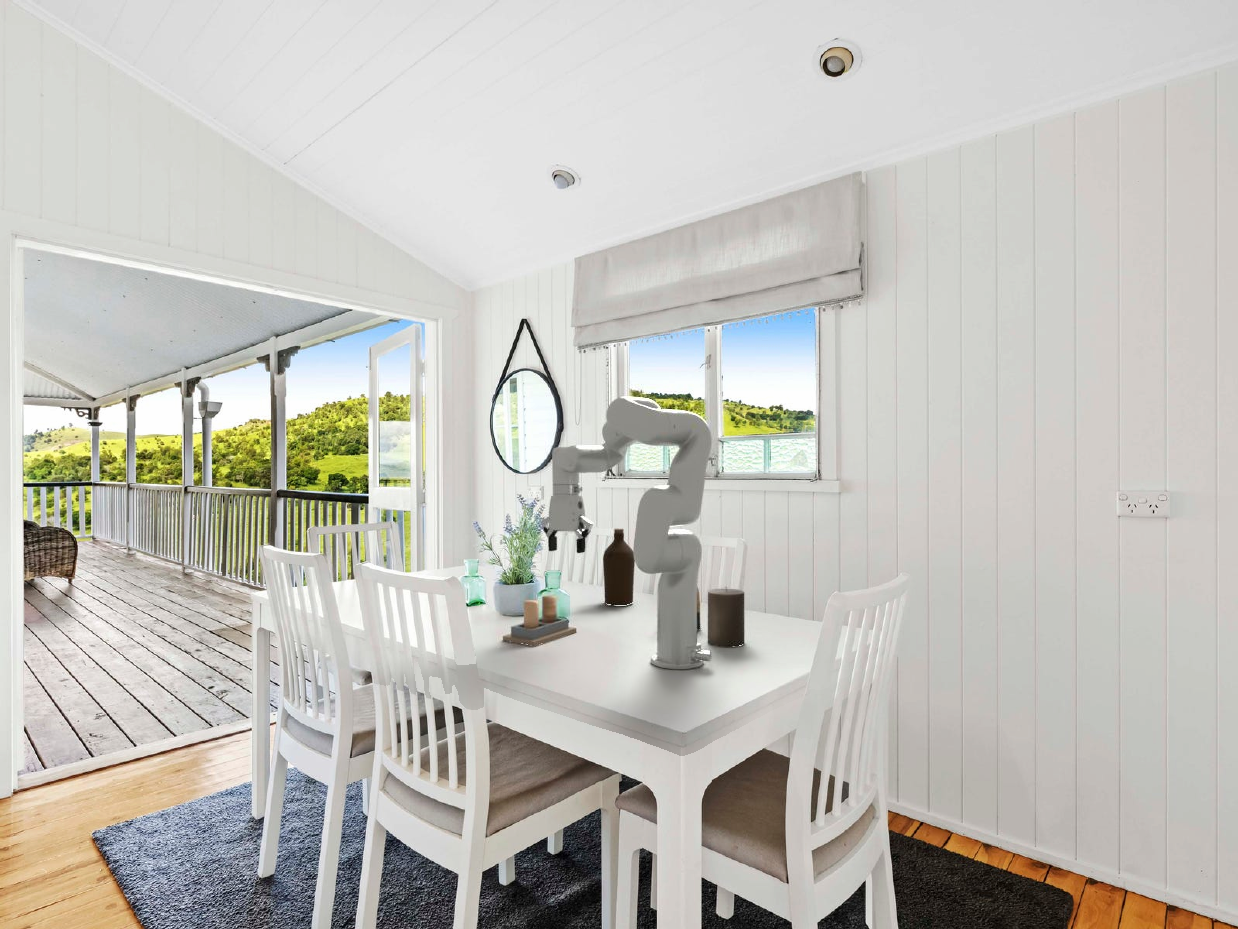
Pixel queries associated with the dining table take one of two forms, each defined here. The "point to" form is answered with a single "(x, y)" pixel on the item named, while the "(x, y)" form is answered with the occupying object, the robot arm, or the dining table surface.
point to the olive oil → (618, 571)
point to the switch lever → (549, 609)
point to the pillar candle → (726, 617)
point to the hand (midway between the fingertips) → (566, 551)
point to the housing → (537, 627)
